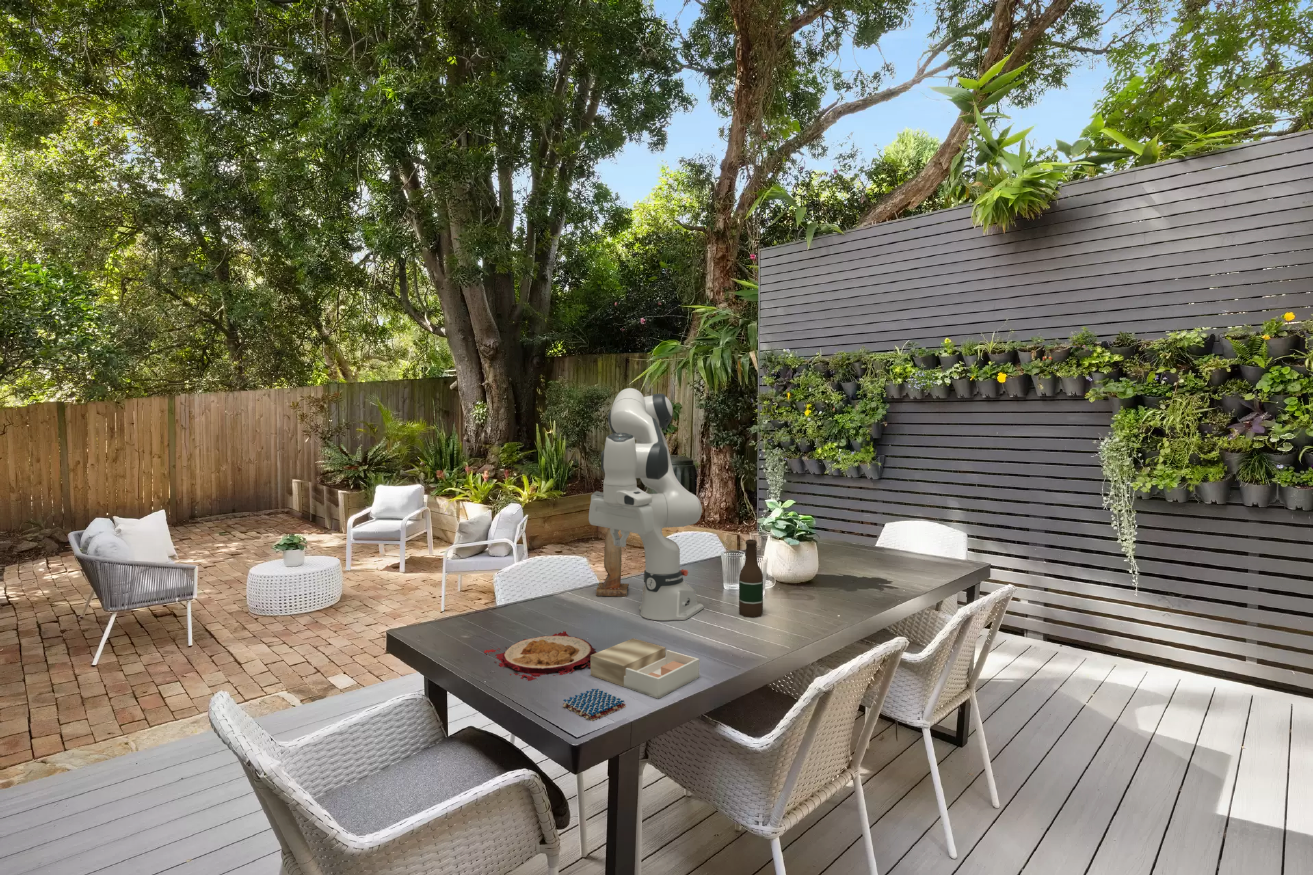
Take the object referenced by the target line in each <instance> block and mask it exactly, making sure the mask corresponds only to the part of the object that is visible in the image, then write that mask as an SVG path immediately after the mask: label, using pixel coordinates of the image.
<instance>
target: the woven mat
mask: <svg viewBox="0 0 1313 875" xmlns="http://www.w3.org/2000/svg"><path fill="white" fill-rule="evenodd" d="M574 696H575V697H574ZM574 696H573V697H572V696H570V697H569V696H568V697H569V699H565V698H564V699H563V702H564V703H563V705H562V707H563V708H567V710H569V711H570V712H573V713H575V715H576V716H578V715H579V716H581V717H582V716H583V718H585V719H586V720H589V721H590V722H593V721H595V720H597V719H600V718H602V717H605V716H608V715H609V714H612V713H614V712H617V711H619V710H621V709H623V708H626V707H627V704H626V703H625V700H624V699H622V698H619V697H617V696H615V695H613V694H610V693H608V692H606V691H604V690H602V689H599V688H591V690H586V691H585V692H581V693H580V694H575V695H574Z"/></svg>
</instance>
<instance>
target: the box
mask: <svg viewBox="0 0 1313 875" xmlns="http://www.w3.org/2000/svg"><path fill="white" fill-rule="evenodd" d="M672 661H675V662H678V663H682V664H685V665H683V666H681V667H679V668H677V669H675V670H673V671H671V672H669V673H667V674H665V675H663V676H661V677H659V678H657V677H654V676H651V675H648V674H649V673H651V672H652V673H655V674H658V675H661V667H662V666H664V665H666V664H668V663H670V662H672ZM698 678H700V658H697V657H695V656H690V655H686V654H683V653H680V652H676V651H674V650H669V649H666V657H665V658H663V659H660V660H658V661H656V662H654V663H652V664H650V665H647V666H645V667H643V668H641V669H639V670H637V671H636V670H632V669H629V668H626V676H624V688H626V689H629V690H632V691H635V692H637V693H641V694H643V695H647V696H649V697H652V698H655V699H657V700H658V699H661V698H663V697H664V696H667V695H669V694H671V693H672V692H674V691H676V690H678V689H680V688H681V687H684V686H685V685H687V684H689V683H690V682H693V681H695V680H697V679H698Z"/></svg>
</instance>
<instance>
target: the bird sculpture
mask: <svg viewBox="0 0 1313 875" xmlns="http://www.w3.org/2000/svg"><path fill="white" fill-rule="evenodd" d="M603 553H604V554H603V567H604V570H605V572H606V573H607V574H606V577H605V580H604V581H603V582H599V583H598V585H597V587H596V590H595V591H596V592H595V596H598V597H601V596H602V597H605V596H606V597H627V594H628V588H629V583H623V582H622V581H621V579H622V555H623V554H622V547H620V546H615V545H614V539H613V537H612V535H611V533H610V528H607V531H606V534H605V540H604V552H603ZM621 582H622V583H621Z"/></svg>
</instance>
